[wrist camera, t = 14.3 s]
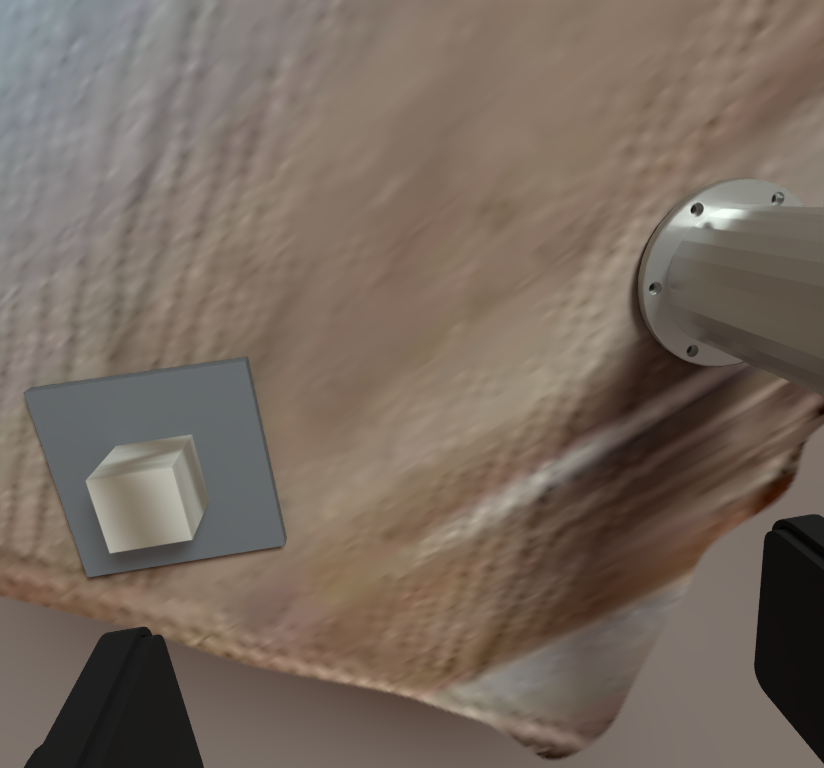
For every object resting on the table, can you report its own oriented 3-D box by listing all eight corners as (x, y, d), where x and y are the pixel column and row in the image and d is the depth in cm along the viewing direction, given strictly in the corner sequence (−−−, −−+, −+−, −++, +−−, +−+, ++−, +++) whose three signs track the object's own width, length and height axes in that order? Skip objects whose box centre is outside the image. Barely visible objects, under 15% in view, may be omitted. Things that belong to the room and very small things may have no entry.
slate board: (247, 356, 40) (245, 360, 39) (286, 537, 45) (285, 545, 44) (31, 387, 39) (23, 392, 38) (93, 569, 44) (87, 577, 43)
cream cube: (192, 434, 40) (171, 467, 36) (209, 500, 42) (192, 539, 37) (115, 445, 40) (85, 480, 35) (136, 511, 42) (109, 553, 37)
